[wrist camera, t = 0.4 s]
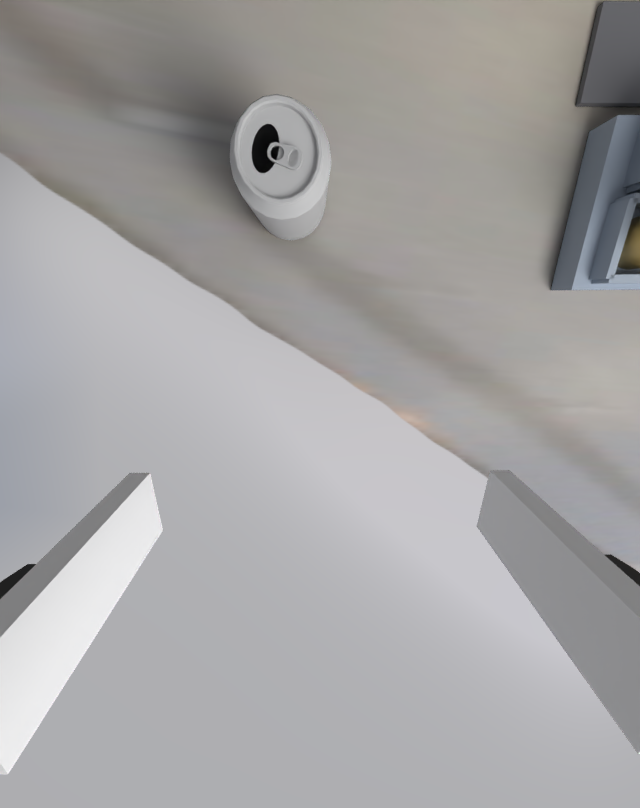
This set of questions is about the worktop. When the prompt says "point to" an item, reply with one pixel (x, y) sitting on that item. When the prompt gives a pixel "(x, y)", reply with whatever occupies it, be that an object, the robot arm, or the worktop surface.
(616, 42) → the mat
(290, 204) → the can
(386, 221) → the worktop surface
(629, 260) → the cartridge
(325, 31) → the worktop surface
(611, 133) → the housing
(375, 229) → the worktop surface
